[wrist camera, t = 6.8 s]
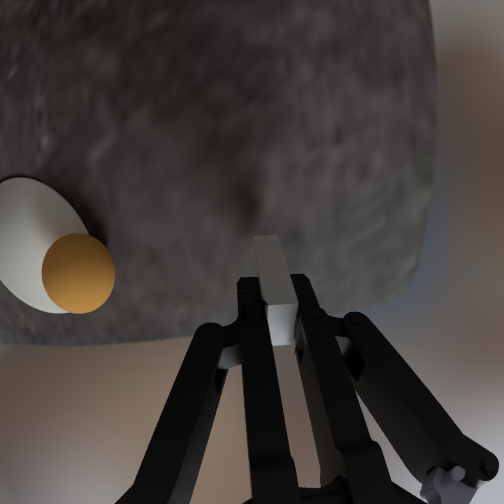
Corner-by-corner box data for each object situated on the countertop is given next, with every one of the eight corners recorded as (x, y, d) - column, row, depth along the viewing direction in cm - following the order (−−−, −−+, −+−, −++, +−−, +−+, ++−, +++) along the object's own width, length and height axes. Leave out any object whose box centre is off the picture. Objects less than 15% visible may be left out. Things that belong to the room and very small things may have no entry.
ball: (20, 247, 15) (53, 267, 13) (77, 216, 20) (121, 226, 18) (45, 312, 18) (83, 341, 16) (94, 277, 22) (137, 296, 20)
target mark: (-33, 190, 16) (-34, 191, 16) (75, 164, 17) (74, 165, 17) (12, 308, 23) (11, 310, 22) (115, 313, 23) (114, 315, 23)
